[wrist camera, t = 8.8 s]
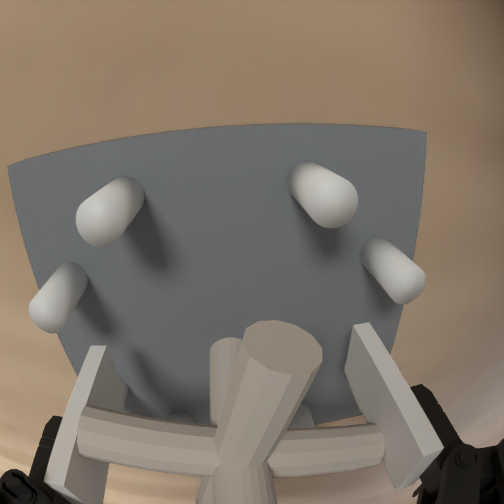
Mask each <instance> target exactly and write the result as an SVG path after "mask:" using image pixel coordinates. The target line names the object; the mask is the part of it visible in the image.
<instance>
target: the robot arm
mask: <svg viewBox="0 0 504 504" xmlns="http://www.w3.org/2000/svg"><path fill="white" fill-rule="evenodd" d="M344 371H345V373H346V375H347V378H348V380H349V382H350V384H351V387H352V389H353V391H354V393H355V396H356V398H357V400H358V403H359V405H360V407H361V409H362V412H363V414H364V416H365V419H366V421H367V423H368V424H369V423H370V424H375V425H377V426H378V427H379V429H380V430H381V432H382V434H383V438H384V441H385V449H384V456H383V457H382V459H383V461H384V464H385V466H386V469H387V471H388V474H389V476H390V478H391V481H392V483H393V486H394V488H395V491H396V490H399V489H401V488H404V487H407V486H409V485H412V484H414V483H415V482H416V481H417V480H418V478H419V477H420V479H421V481H422V484H421V485H420V486H419V487H418V488H417V489H416V490H415V491H414V493H413V496H412V497H415V496H416V495H417V494H418V493H419V495H418V500H417V504H504V439H502V441H501V442H500V443H499V444H498V445H496V446H491V447H485V448H475V447H473V446H472V445H468V444H464V443H463V442H462V440H461V439H460V438H459V436H458V434H457V433H456V431H455V429H454V428H453V426H452V424H451V423H450V421H449V419H448V418H447V416H446V414H445V413H444V412H443V409H442V408H441V406H440V405H439V404H438V401H437V400H436V398H435V397H434V395H433V393H432V392H431V391H430V390H429V389H427V388H426V387H425V386H423V385H422V384H419V385H416V386H413V387H409V385H408V384H407V382H406V380H405V379H404V377H403V375H402V374H401V372H400V370H399V369H398V367H397V366H396V364H395V362H394V361H393V359H392V357H391V356H390V354H389V353H388V351H387V349H386V348H385V346H384V345H383V343H382V341H381V340H380V338H379V337H378V335H377V334H376V332H375V330H374V329H373V327H372V326H371V324H370V323H369V322H368V323H363V324H357V325H353V328H352V334H351V339H350V344H349V350H348V355H347V360H346V365H345V369H344ZM124 391H125V388H124V386H123V383H122V381H121V379H120V377H119V375H118V372H117V370H116V368H115V365H114V363H113V361H112V358H111V356H110V353H109V351H108V348H107V346H90V349H89V351H88V353H87V356H86V358H85V361H84V363H83V365H82V368H81V370H80V373H79V375H78V378H77V381H76V383H75V386H74V388H73V391H72V394H71V396H70V399H69V402H68V405H67V407H66V410H65V413H64V416H63V417H60V416H53V417H52V418H51V419H50V420H49V422H48V423H47V424H46V425H45V428H44V431H43V434H42V438H41V440H40V442H39V447H38V448H37V451H36V454H35V458H34V461H33V464H32V467H31V470H30V474H29V477H28V476H27V475H26V474H25V473H23V472H22V471H20V470H17V469H11V470H9V471H6V472H5V473H4V474H3V475H2V476H1V479H0V504H103V499H104V493H105V486H106V480H107V474H108V468H109V462H105V461H100V460H96V459H92V458H88V457H85V456H82V455H81V454H80V453H79V450H78V445H77V428H78V423H79V419H80V414H81V412H82V410H83V408H84V406H86V405H88V404H89V405H93V406H97V407H101V408H106V409H110V410H115V411H120V409H121V404H122V400H123V396H124Z"/></svg>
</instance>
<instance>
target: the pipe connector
mask: <svg viewBox="0 0 504 504" xmlns="http://www.w3.org/2000/svg"><path fill="white" fill-rule="evenodd" d="M321 363H322V347H321V346H320V345H319V343H318V342H317V341H316V339H315V338H314V337H313V336H312V335H311V334H310V333H308V332H306V331H305V330H303V329H301V328H300V327H298V326H296V325H294V324H290V323H286V322H282V321H278V320H269V321H258V322H256V323H254V324H253V325H251V326H249V327H247V328H246V330H245V333H244V336H243V340H242V339H239V338H234V337H228V338H223V339H221V340H218V341H217V342H215V343H214V344H213V345H212V346H211V348H210V425H206V424H196V423H187V422H179V421H172V420H165V419H158V418H152V417H146V416H140V415H135V414H130V413H124V412H120V411H115V410H110V409H106V408H101V407H97V406H93V405H89V404H88V405H86V406H84V408H83V410H82V412H81V414H80V419H79V423H78V428H77V445H78V450H79V453H80V454H81V455H82V456H85V457H88V458H92V459H96V460H100V461H105V462H109V463H113V464H118V465H123V466H128V467H133V468H139V469H144V470H151V471H157V472H164V473H172V474H181V475H190V476H202V477H203V478H202V481H201V485H200V488H199V491H198V495H197V498H196V503H197V504H277V501H276V495H275V489H274V484H273V478H285V477H301V476H312V475H322V474H331V473H339V472H346V471H352V470H359V469H364V468H370V467H373V466H375V465H377V464H379V462H380V461H381V459H382V457H383V456H384V449H385V441H384V438H383V434H382V432H381V430H380V429H379V427H378V426H377V425H375V424H370V423H369V424H360V425H349V426H335V427H316V428H288V426H289V424H290V422H291V420H292V419H293V417H294V415H295V413H296V411H297V410H298V408H299V406H300V404H301V402H302V400H303V398H304V397H305V395H306V393H307V391H308V389H309V387H310V385H311V383H312V381H313V379H314V377H315V375H316V373H317V371H318V369H319V367H320V365H321Z"/></svg>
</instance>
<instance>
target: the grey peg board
mask: <svg viewBox="0 0 504 504" xmlns="http://www.w3.org/2000/svg"><path fill="white" fill-rule="evenodd" d="M426 136H427V132H423V131H417V130H412V129H404V128H393V127H381V126H367V125H349V124H314V123H287V124H252V125H233V126H219V127H206V128H195V129H185V130H176V131H168V132H160V133H153V134H145V135H139V136H132V137H126V138H120V139H114V140H109V141H103V142H98V143H93V144H88V145H83V146H78V147H74V148H69V149H65V150H61V151H56V152H52V153H48V154H44V155H40V156H37V157H33V158H29V159H26V160H22V161H20V162H17V163H14V164H11V165H9V166H7V167H8V174H9V179H10V185H11V190H12V195H13V200H14V204H15V209H16V213H17V217H18V222H19V226H20V229H21V233H22V237H23V240H24V244H25V247H26V251H27V254H28V257H29V261H30V264H31V267H32V270H33V273H34V276H35V279H36V282H37V285H38V287H39V290H40V291H39V292H38V293H37V294H36V296H35V297H34V298H33V299H32V301H31V302H30V304H29V314H30V317H31V319H32V320H33V322H34V323H35V324H36V325H37V326H38V327H39V328H40V329H42V330H43V331H46V332H48V333H57V335H58V337H59V339H60V341H61V344H62V346H63V348H64V350H65V352H66V354H67V356H68V358H69V360H70V362H71V364H72V366H73V368H74V370H75V372H76V374H77V376H78V375H79V373H80V370H81V368H82V365H83V363H84V361H85V358H86V356H87V353H88V351H89V349H90V346H107V348H108V351H109V353H110V356H111V358H112V361H113V363H114V365H115V368H116V370H117V372H118V375H119V377H120V379H121V381H122V383H123V386H124V388H125V391H124V396H123V400H122V404H121V409H120V412H124V413H130V414H135V415H140V416H146V417H152V418H158V419H165V420H172V421H179V422H187V423H196V424H206V425H210V348H211V346H212V345H213V344H214V343H215V342H217V341H218V340H221V339H223V338H228V337H234V338H239V339H242V340H243V336H244V333H245V330H246V328H247V327H249V326H251V325H253V324H254V323H256V322H258V321H269V320H278V321H282V322H286V323H290V324H294V325H296V326H298V327H300V328H301V329H303V330H305V331H306V332H308V333H310V334H311V335H312V336H313V337H314V338H315V339H316V341H317V342H318V343H319V345H320V346H321V347H322V363H321V365H320V367H319V369H318V371H317V373H316V375H315V377H314V379H313V381H312V383H311V385H310V387H309V389H308V391H307V393H306V395H305V397H304V398H303V400H302V402H301V404H300V406H299V408H298V410H297V411H296V413H295V415H294V417H293V419H292V420H291V422H290V424H289V426H288V428H315V424H321V423H326V422H331V421H336V420H340V419H345V418H349V417H354V416H358V415H362V414H363V412H362V409H361V407H360V405H359V403H358V400H357V398H356V396H355V393H354V391H353V389H352V387H351V384H350V382H349V380H348V378H347V375H346V373H345V371H344V369H345V365H346V360H347V355H348V350H349V344H350V339H351V334H352V328H353V325H357V324H363V323H368V322H369V323H370V324H371V326H372V327H373V329H374V330H375V332H376V334H377V335H378V337H379V338H380V340H381V341H382V343H383V345H384V346H385V348H386V349H387V351H388V353H389V354H390V353H391V350H392V346H393V343H394V339H395V336H396V332H397V328H398V324H399V320H400V317H401V313H402V308H403V304H406V303H409V302H411V301H413V300H414V299H415V298H417V297H418V296H419V294H420V293H421V292H422V290H423V288H424V285H425V280H426V278H425V274H424V272H423V270H422V269H421V268H419V267H418V266H417V265H416V264H415V263H414V262H413V256H414V250H415V245H416V238H417V232H418V225H419V218H420V210H421V202H422V193H423V183H424V171H425V157H426Z"/></svg>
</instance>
